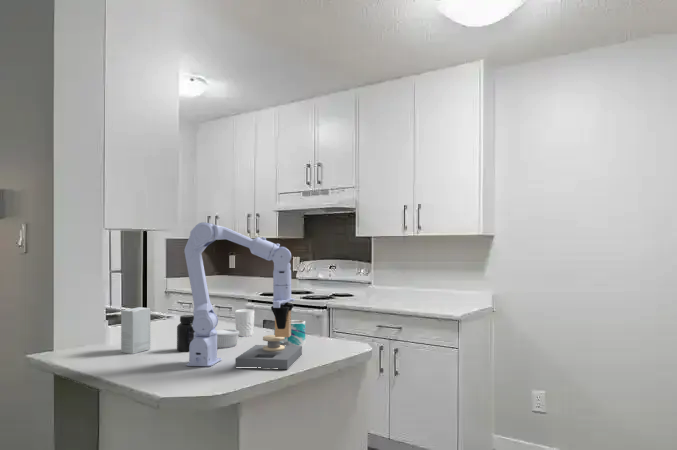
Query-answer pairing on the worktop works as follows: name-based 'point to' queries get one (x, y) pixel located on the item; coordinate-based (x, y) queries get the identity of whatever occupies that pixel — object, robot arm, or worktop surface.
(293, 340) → the mug
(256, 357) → the notched board
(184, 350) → the supplement bottle
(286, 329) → the wooden block
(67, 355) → the worktop surface
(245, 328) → the white cup
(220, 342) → the ramekin
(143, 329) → the skincare box
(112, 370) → the worktop surface
